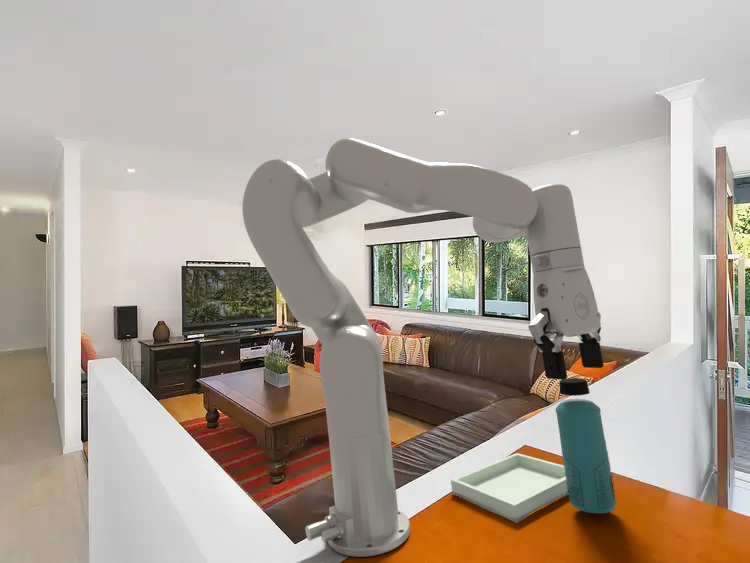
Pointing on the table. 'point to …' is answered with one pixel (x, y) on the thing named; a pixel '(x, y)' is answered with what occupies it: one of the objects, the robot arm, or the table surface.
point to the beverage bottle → (584, 450)
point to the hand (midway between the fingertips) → (575, 372)
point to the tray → (512, 486)
